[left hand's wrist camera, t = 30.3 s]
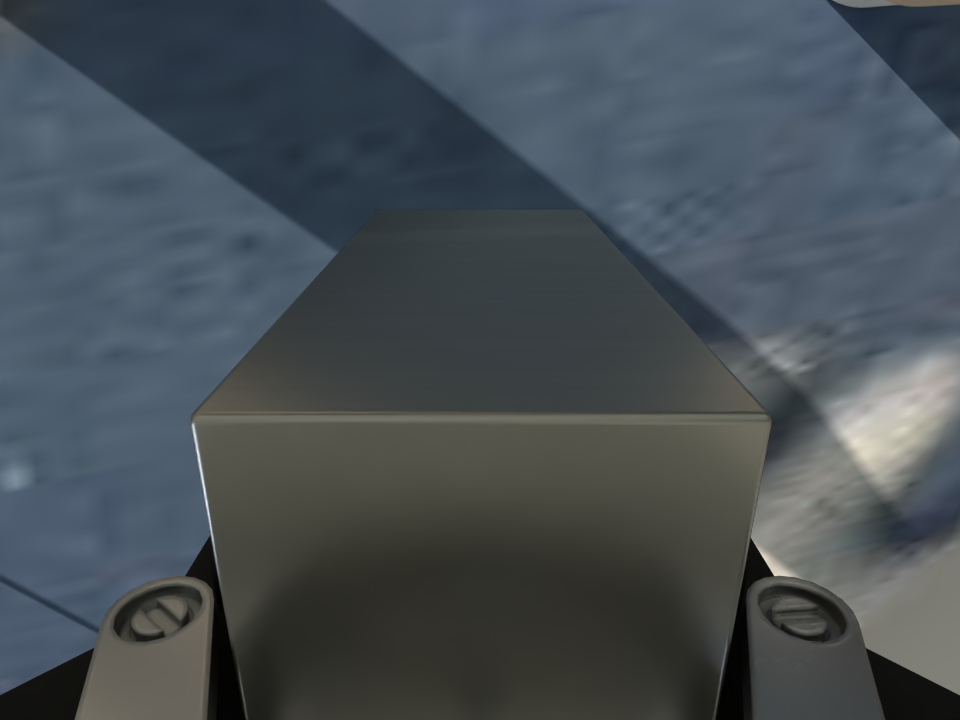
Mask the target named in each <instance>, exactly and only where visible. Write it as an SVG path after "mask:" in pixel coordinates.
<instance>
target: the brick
mask: <svg viewBox="0 0 960 720" xmlns="http://www.w3.org/2000/svg"><path fill="white" fill-rule="evenodd" d="M190 427H191V433H192V438H193V443H194V449H195V454H196V460H197V465H198V471H199V476H200V481H201V487H202V492H203V498H204V503H205V509H206V514H207V519H208V525H209V530H210V536H211V541H212V546H213V552H214V557H215V563H216V568H217V574H218V579H219V584H220V590H221V595H222V601H223V606H224V612H225V617H226V622H227V628H228V633H229V639H230V644H231V650H232V655H233V660H234V666H235V671H236V677H237V682H238V688H239V693H240V698H241V704H242V709H243V715H244V720H717V715H718V710H719V704H720V699H721V693H722V688H723V683H724V677H725V672H726V666H727V661H728V656H729V650H730V645H731V639H732V634H733V629H734V623H735V618H736V612H737V607H738V602H739V596H740V591H741V585H742V580H743V575H744V569H745V564H746V558H747V553H748V548H749V542H750V537H751V532H752V526H753V521H754V515H755V510H756V505H757V499H758V494H759V488H760V483H761V478H762V472H763V467H764V461H765V456H766V451H767V445H768V440H769V434H770V429H771V417H770V414H769V413H768V412H767V411H766V409H765V408H764V407H763V406H762V405H761V404H760V403H759V402H758V401H757V400H756V399H755V397H754V396H753V395H752V394H751V393H750V392H749V391H748V390H747V389H746V388H745V387H744V385H743V384H742V383H741V382H740V381H739V380H738V379H737V378H736V377H735V376H734V375H733V374H732V372H731V371H730V370H729V369H728V368H727V367H726V366H725V365H724V364H723V363H722V362H721V360H720V359H719V358H718V357H717V356H716V355H715V354H714V353H713V352H712V351H711V350H710V348H709V347H708V346H707V345H706V344H705V343H704V342H703V341H702V340H701V339H700V338H699V337H698V335H697V334H696V333H695V332H694V331H693V330H692V329H691V328H690V327H689V326H688V325H687V323H686V322H685V321H684V320H683V319H682V318H681V317H680V316H679V315H678V314H677V313H676V311H675V310H674V309H673V308H672V307H671V306H670V305H669V304H668V303H667V302H666V301H665V300H664V298H663V297H662V296H661V295H660V294H659V293H658V292H657V291H656V290H655V289H654V288H653V286H652V285H651V284H650V283H649V282H648V281H647V280H646V279H645V278H644V277H643V276H642V274H641V273H640V272H639V271H638V270H637V269H636V268H635V267H634V266H633V265H632V264H631V263H630V261H629V260H628V259H627V258H626V257H625V256H624V255H623V254H622V253H621V252H620V251H619V249H618V248H617V247H616V246H615V245H614V244H613V243H612V242H611V241H610V240H609V239H608V237H607V236H606V235H605V234H604V233H603V232H602V231H601V230H600V229H599V228H598V227H597V226H596V224H595V223H594V222H593V221H592V220H591V219H590V218H589V217H588V216H587V215H586V214H585V212H584V211H582V210H377V211H376V212H375V213H374V214H373V215H372V216H371V217H370V218H369V220H368V221H367V222H366V223H365V224H364V225H363V226H362V227H361V228H360V229H359V231H358V232H357V233H356V234H355V235H354V236H353V237H352V238H351V239H350V240H349V242H348V243H347V244H346V245H345V246H344V247H343V248H342V249H341V250H340V251H339V253H338V254H337V255H336V256H335V257H334V258H333V259H332V260H331V261H330V262H329V264H328V265H327V266H326V267H325V268H324V269H323V270H322V271H321V272H320V274H319V275H318V276H317V277H316V278H315V279H314V280H313V281H312V282H311V283H310V285H309V286H308V287H307V288H306V289H305V290H304V291H303V292H302V293H301V294H300V296H299V297H298V298H297V299H296V300H295V301H294V302H293V303H292V304H291V305H290V307H289V308H288V309H287V310H286V311H285V312H284V313H283V314H282V315H281V316H280V318H279V319H278V320H277V321H276V322H275V323H274V324H273V325H272V326H271V327H270V329H269V330H268V331H267V332H266V333H265V334H264V335H263V336H262V337H261V338H260V340H259V341H258V342H257V343H256V344H255V345H254V346H253V347H252V348H251V350H250V351H249V352H248V353H247V354H246V355H245V356H244V357H243V358H242V359H241V361H240V362H239V363H238V364H237V365H236V366H235V367H234V368H233V369H232V370H231V372H230V373H229V374H228V375H227V376H226V377H225V378H224V379H223V380H222V381H221V383H220V384H219V385H218V386H217V387H216V388H215V389H214V390H213V391H212V392H211V394H210V395H209V396H208V397H207V398H206V399H205V400H204V401H203V402H202V403H201V405H200V406H199V407H198V408H197V409H196V410H195V411H194V412H193V413H192V415H191V419H190Z"/></svg>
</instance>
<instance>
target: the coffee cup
mask: <svg viewBox="0 0 960 720" xmlns="http://www.w3.org/2000/svg"><path fill="white" fill-rule="evenodd" d="M833 1H835V2H837V3H839V4H842V5H846V6H850V7H858V8H865V7H878V6H891V5H903V6H912V7H922V6H940V5H958V4H960V0H833Z"/></svg>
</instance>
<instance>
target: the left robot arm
mask: <svg viewBox="0 0 960 720" xmlns="http://www.w3.org/2000/svg"><path fill="white" fill-rule="evenodd" d="M0 720H244V715H243V709H242V704H241V698H240V693H239V688H238V682H237V677H236V671H235V666H234V660H233V655H232V650H231V644H230V639H229V633H228V628H227V622H226V617H225V612H224V606H223V601H222V595H221V590H220V584H219V579H218V574H217V568H216V563H215V557H214V552H213V546H212V541H211V536H210V537H209V538H208V540H207V541H206V543H205V545H204V546H203V548H202V550H201V551H200V553H199V554H198V556H197V558H196V559H195V561H194V563H193V564H192V566H191V567H190V569H189V571H188V572H187V574H186V576H175V577H165V578H161V579H158V580H154V581H151V582H148V583H145V584H143V585H141V586H139V587H137V588H135V589H133V590H131V591H130V592H128V593H127V594H125V595H124V596H122V597H121V598H120V599H118V600H117V601H116V602H115V603H114V604H113V605H112V606H111V608H110V609H109V610H108V611H107V613H106V615H105V617H104V619H103V621H102V623H101V626H100V629H99V633H98V637H97V640H96V644H95V648H93V649H91V650H89V651H87V652H85V653H83V654H81V655H79V656H77V657H75V658H73V659H71V660H69V661H67V662H65V663H63V664H61V665H59V666H57V667H55V668H53V669H51V670H49V671H47V672H45V673H43V674H41V675H39V676H37V677H35V678H33V679H31V680H29V681H28V682H26V683H24V684H22V685H20V686H18V687H16V688H14V689H12V690H10V691H8V692H6V693H4V694H2V695H0ZM717 720H960V695H958V694H956V693H954V692H952V691H950V690H948V689H946V688H944V687H942V686H940V685H938V684H936V683H934V682H932V681H930V680H928V679H926V678H924V677H922V676H920V675H918V674H916V673H914V672H912V671H910V670H908V669H906V668H904V667H902V666H900V665H898V664H896V663H894V662H892V661H890V660H888V659H886V658H884V657H882V656H881V655H879V654H876V653H875V652H873V651H871V650H869V649H867V648H865V644H864V641H863V637H862V633H861V629H860V626H859V623H858V621H857V619H856V617H855V615H854V613H853V611H852V610H851V609H850V608H849V606H848V605H847V604H846V603H845V602H844V601H843V600H842V599H840V598H839V597H838V596H836V595H835V594H833V593H832V592H830V591H829V590H827V589H825V588H823V587H821V586H819V585H817V584H815V583H812V582H809V581H806V580H802V579H799V578H795V577H785V576H774V575H773V573H772V572H771V570H770V568H769V567H768V565H767V564H766V562H765V560H764V559H763V557H762V555H761V554H760V552H759V551H758V549H757V547H756V546H755V544H754V542H753V541H752V539H751V538H750V542H749V548H748V553H747V558H746V564H745V569H744V575H743V580H742V585H741V591H740V596H739V602H738V607H737V612H736V618H735V623H734V629H733V634H732V639H731V645H730V650H729V656H728V661H727V666H726V672H725V677H724V683H723V688H722V693H721V699H720V704H719V710H718V715H717Z"/></svg>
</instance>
